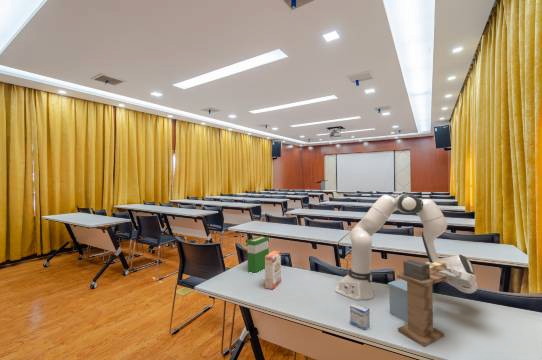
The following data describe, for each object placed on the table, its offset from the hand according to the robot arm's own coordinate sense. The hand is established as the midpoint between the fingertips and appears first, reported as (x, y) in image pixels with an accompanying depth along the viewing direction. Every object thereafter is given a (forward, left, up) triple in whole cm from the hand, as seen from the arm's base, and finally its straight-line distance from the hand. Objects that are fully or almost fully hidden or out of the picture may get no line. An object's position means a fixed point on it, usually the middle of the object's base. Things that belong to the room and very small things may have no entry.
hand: (439, 266), depth 119 cm
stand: (-6, -13, -27) cm, 30 cm away
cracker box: (-91, -11, -27) cm, 96 cm away
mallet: (-4, -8, -1) cm, 9 cm away
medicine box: (-30, -23, -27) cm, 47 cm away
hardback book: (-118, +5, -27) cm, 122 cm away
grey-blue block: (-14, +1, -27) cm, 30 cm away
